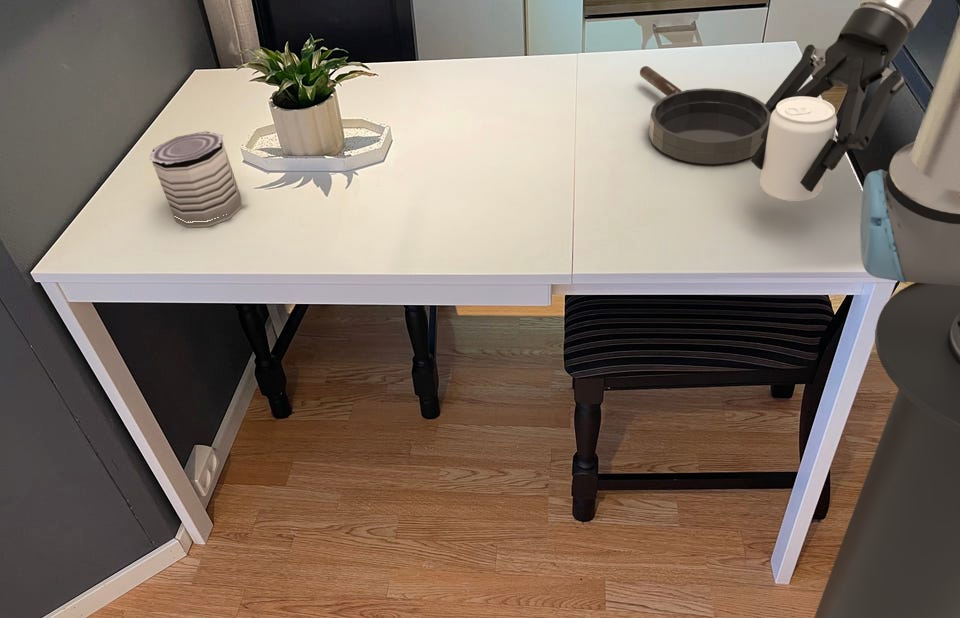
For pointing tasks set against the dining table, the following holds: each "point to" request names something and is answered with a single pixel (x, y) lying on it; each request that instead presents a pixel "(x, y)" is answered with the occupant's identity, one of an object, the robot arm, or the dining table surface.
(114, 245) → the dining table surface
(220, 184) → the can
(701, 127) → the pan
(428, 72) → the dining table surface
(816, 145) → the beverage can
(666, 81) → the pan handle
